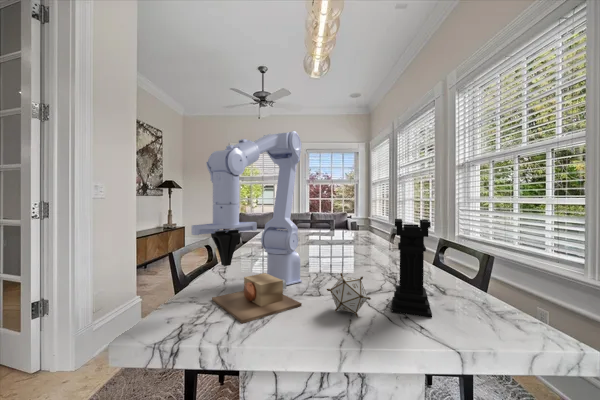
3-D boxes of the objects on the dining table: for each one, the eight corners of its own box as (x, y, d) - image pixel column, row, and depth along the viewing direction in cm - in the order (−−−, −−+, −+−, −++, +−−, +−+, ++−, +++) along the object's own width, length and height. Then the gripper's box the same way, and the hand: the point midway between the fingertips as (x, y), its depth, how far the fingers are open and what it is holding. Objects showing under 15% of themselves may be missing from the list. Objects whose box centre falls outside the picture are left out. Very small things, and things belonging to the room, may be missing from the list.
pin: (278, 290, 73) (278, 274, 73) (288, 294, 70) (288, 277, 70) (243, 298, 67) (243, 280, 67) (252, 303, 64) (252, 285, 64)
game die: (348, 333, 60) (336, 305, 54) (328, 306, 67) (315, 278, 61) (381, 309, 62) (373, 279, 56) (358, 285, 69) (348, 257, 63)
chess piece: (428, 304, 67) (428, 219, 66) (432, 317, 59) (433, 222, 59) (392, 300, 69) (393, 218, 69) (391, 312, 62) (392, 221, 61)
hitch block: (265, 288, 78) (265, 268, 77) (301, 305, 65) (301, 282, 65) (212, 300, 68) (212, 277, 68) (242, 323, 56) (242, 296, 56)
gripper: (246, 203, 70) (246, 257, 71) (186, 203, 61) (186, 266, 61) (261, 203, 65) (261, 262, 65) (197, 204, 56) (197, 273, 56)
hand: (226, 264), depth 63 cm, fingers closed
